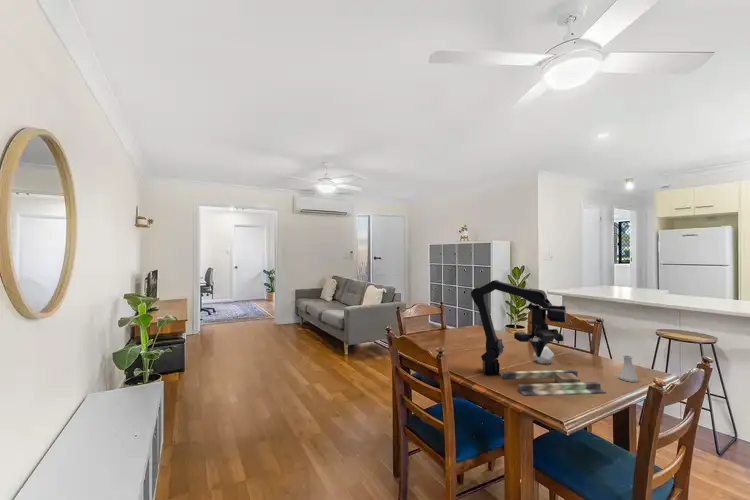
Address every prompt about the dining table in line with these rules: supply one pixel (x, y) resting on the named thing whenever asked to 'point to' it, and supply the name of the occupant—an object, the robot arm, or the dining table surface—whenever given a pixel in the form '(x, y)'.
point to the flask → (628, 370)
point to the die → (544, 356)
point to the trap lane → (552, 384)
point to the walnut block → (566, 378)
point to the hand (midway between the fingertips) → (538, 356)
